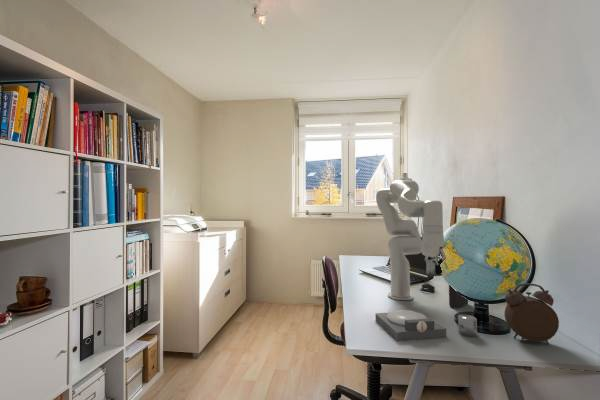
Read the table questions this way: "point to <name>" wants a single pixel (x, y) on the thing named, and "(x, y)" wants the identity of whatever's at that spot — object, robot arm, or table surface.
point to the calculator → (456, 299)
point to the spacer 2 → (467, 325)
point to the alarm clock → (531, 315)
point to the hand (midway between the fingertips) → (434, 272)
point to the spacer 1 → (431, 267)
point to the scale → (410, 325)
